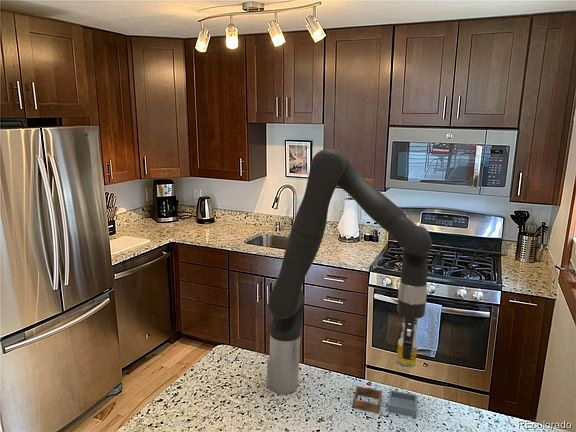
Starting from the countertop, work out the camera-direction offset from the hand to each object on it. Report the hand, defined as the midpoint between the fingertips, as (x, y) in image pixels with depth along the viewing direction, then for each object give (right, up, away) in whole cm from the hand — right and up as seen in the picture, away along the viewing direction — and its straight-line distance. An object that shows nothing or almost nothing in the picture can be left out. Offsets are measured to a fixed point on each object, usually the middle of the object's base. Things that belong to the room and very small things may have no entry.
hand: (406, 353), depth 125 cm
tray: (0, -17, +3) cm, 17 cm away
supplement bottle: (0, -4, +1) cm, 4 cm away
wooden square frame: (-11, -16, +5) cm, 20 cm away
